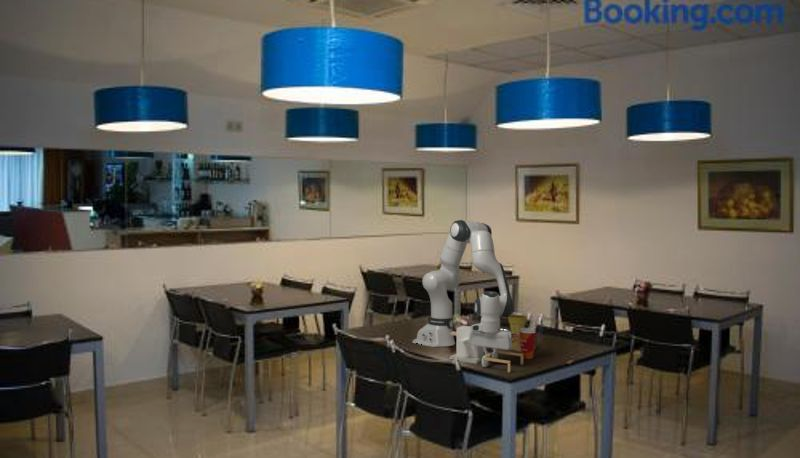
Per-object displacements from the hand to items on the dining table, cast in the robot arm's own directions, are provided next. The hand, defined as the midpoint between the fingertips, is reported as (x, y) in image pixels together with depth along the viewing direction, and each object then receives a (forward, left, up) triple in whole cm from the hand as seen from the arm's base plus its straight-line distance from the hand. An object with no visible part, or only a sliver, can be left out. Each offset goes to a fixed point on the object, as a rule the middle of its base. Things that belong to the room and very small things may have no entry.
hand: (490, 356), depth 305 cm
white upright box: (-13, +3, -3) cm, 14 cm away
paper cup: (+10, +21, -4) cm, 24 cm away
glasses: (+6, 0, -3) cm, 7 cm away
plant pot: (-15, +72, -4) cm, 74 cm away
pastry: (0, +39, -4) cm, 39 cm away
